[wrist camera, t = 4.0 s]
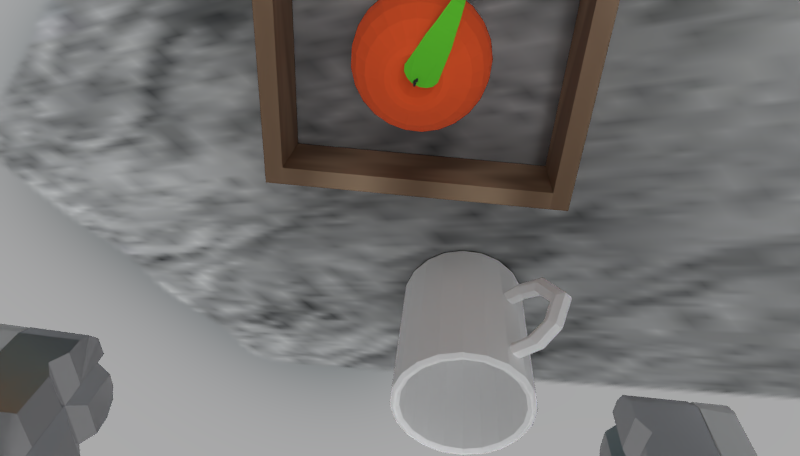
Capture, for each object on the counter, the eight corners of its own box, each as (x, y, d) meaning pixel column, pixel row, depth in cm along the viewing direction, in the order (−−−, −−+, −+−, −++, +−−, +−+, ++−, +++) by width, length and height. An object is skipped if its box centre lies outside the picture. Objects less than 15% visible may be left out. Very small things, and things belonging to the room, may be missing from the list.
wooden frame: (630, -131, 26) (652, -134, 23) (558, 182, 34) (567, 210, 31) (264, -154, 26) (239, -159, 24) (282, 157, 35) (266, 182, 32)
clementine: (407, -74, 28) (392, -63, 22) (526, -3, 29) (543, 26, 23) (341, 68, 32) (313, 111, 26) (448, 126, 33) (445, 180, 27)
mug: (592, 266, 37) (630, 377, 28) (462, 357, 42) (462, 474, 34) (508, 189, 35) (522, 286, 26) (382, 296, 40) (360, 405, 31)
